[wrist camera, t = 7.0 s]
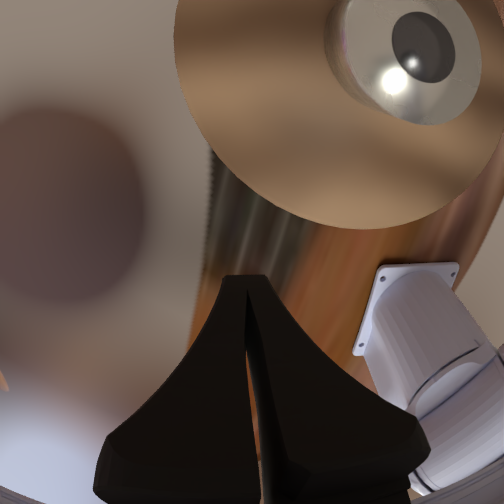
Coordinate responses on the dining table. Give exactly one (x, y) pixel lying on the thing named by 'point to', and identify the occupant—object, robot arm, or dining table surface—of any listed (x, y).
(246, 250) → the dining table surface
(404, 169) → the turntable
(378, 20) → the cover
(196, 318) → the dining table surface
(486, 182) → the dining table surface
